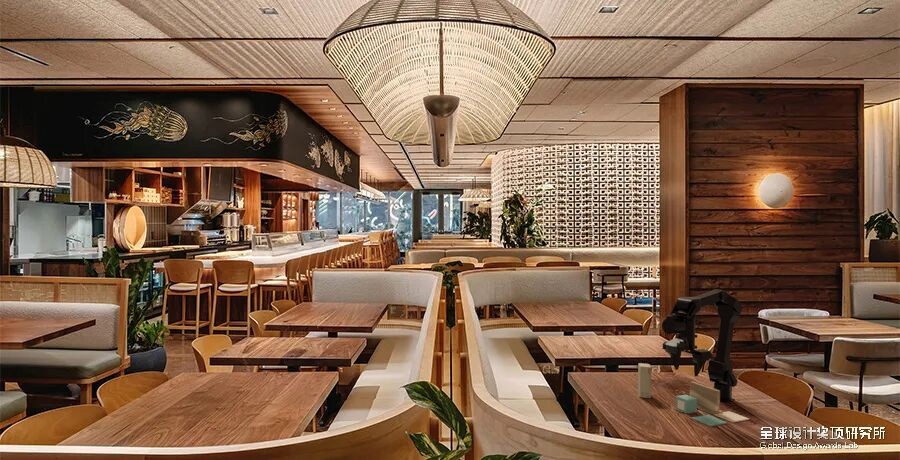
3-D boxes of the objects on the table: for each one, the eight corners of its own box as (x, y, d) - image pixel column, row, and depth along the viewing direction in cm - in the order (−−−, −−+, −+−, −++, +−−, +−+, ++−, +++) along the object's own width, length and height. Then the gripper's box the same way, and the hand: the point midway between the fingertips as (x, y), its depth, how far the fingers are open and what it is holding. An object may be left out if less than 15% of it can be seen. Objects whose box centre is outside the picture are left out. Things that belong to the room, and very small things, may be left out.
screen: (693, 402, 212) (694, 380, 212) (722, 414, 200) (723, 390, 200) (685, 404, 211) (686, 381, 211) (714, 415, 199) (715, 391, 199)
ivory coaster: (729, 412, 203) (729, 411, 203) (749, 419, 195) (749, 418, 195) (713, 414, 199) (713, 413, 199) (733, 422, 192) (733, 421, 192)
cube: (685, 407, 206) (685, 394, 206) (696, 412, 202) (696, 398, 202) (675, 409, 204) (675, 396, 204) (686, 413, 200) (686, 400, 200)
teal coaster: (707, 415, 198) (707, 414, 198) (727, 423, 191) (727, 422, 191) (691, 418, 195) (691, 417, 195) (710, 426, 187) (710, 425, 187)
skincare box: (651, 398, 216) (652, 367, 216) (639, 397, 217) (640, 366, 217) (648, 393, 222) (649, 363, 222) (637, 392, 223) (638, 362, 223)
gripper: (651, 328, 212) (651, 368, 213) (690, 338, 195) (690, 382, 195) (673, 326, 217) (673, 365, 217) (713, 335, 199) (712, 378, 200)
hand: (686, 372), depth 207 cm, fingers open, 9 cm apart
